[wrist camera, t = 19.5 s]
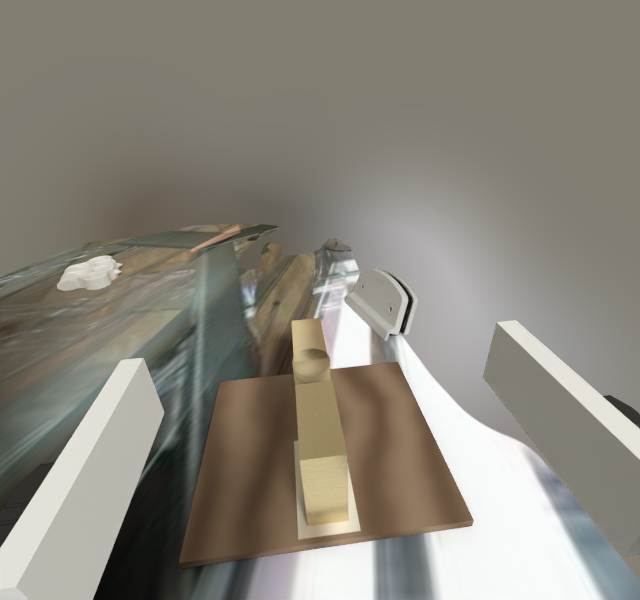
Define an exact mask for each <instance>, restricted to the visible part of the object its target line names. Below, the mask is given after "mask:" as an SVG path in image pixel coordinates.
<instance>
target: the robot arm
mask: <svg viewBox="0 0 640 600" xmlns="http://www.w3.org/2000/svg"><path fill="white" fill-rule="evenodd" d="M483 378H484V379H485V381H486V382H487V383H488V384H489V386H490V387H491V388H492V390H493V391H494V392H495V393H496V395H497V396H498V397H499V399H500V400H501V401H502V402H503V404H504V405H505V406H506V408H507V409H508V410H509V412H510V413H511V414H512V415H513V417H514V418H515V419H516V421H517V422H518V423H519V424H520V426H521V427H522V428H523V430H524V431H525V432H526V434H527V435H528V436H529V437H530V439H531V440H532V441H533V443H534V444H535V445H536V446H537V448H538V449H539V450H540V452H541V453H542V454H543V455H544V457H545V458H546V459H547V460H548V462H549V463H550V465H551V466H552V467H553V468H554V470H555V471H556V472H557V474H558V475H559V476H560V477H561V479H562V480H563V481H564V483H565V484H566V485H567V487H568V488H569V489H570V490H571V492H572V493H573V494H574V496H575V497H576V498H577V499H578V501H579V502H580V503H581V505H582V506H583V507H584V508H585V510H586V511H587V512H588V514H589V515H590V516H591V518H592V519H593V520H594V521H595V523H596V524H597V525H598V527H599V528H600V529H601V530H602V532H603V533H604V534H605V536H606V537H607V538H608V539H609V541H610V542H611V543H612V545H613V546H614V547H615V549H616V550H617V551H618V552H619V554H620V555H621V556H622V557H628V556H635V555H640V414H639V413H638V412H637V411H635V410H634V409H633V408H632V407H630V406H628V405H627V404H625V403H623V402H621V401H619V400H617V399H616V398H614V397H612V396H610V395H608V396H602V395H600V394H599V393H598V392H597V391H596V390H595V389H594V388H592V387H591V386H590V385H589V384H588V383H587V382H585V381H584V380H583V379H582V378H581V377H580V376H579V375H577V374H576V373H575V372H574V371H573V370H572V369H571V368H570V367H568V366H567V365H566V364H565V363H564V362H563V361H561V360H560V359H559V358H558V357H557V356H556V355H555V354H553V353H552V352H551V351H550V350H549V349H548V348H547V347H545V346H544V345H543V344H542V343H541V342H540V341H539V340H537V339H536V338H535V337H534V336H533V335H532V334H531V333H529V332H528V331H527V330H526V329H525V328H524V327H522V326H521V325H520V324H519V323H518V322H517V321H516V320H515V321H505V322H497V323H496V327H495V331H494V335H493V338H492V342H491V346H490V351H489V354H488V359H487V362H486V366H485V370H484V374H483ZM163 415H164V410H163V408H162V405H161V402H160V400H159V397H158V395H157V392H156V389H155V387H154V384H153V382H152V379H151V376H150V374H149V371H148V369H147V366H146V364H145V361H144V358H138V359H128V360H121V361H120V363H119V364H118V366H117V367H116V369H115V370H114V372H113V373H112V375H111V377H110V378H109V380H108V381H107V383H106V384H105V386H104V387H103V389H102V391H101V392H100V394H99V395H98V397H97V398H96V400H95V401H94V403H93V405H92V406H91V408H90V409H89V411H88V412H87V414H86V415H85V417H84V419H83V420H82V422H81V423H80V425H79V426H78V428H77V429H76V431H75V433H74V434H73V436H72V437H71V439H70V440H69V442H68V443H67V445H66V447H65V448H64V450H63V451H62V453H61V454H60V456H59V457H58V459H57V461H56V462H55V463H47V464H40V465H39V466H38V467H37V468H36V469H35V470H34V471H33V472H32V473H31V474H29V475H28V476H27V477H26V478H25V479H24V480H23V481H22V482H21V483H20V484H19V485H18V487H17V488H16V490H15V491H14V492H13V494H12V495H11V497H10V498H9V500H8V501H7V502H6V504H5V508H4V509H2V510H1V511H0V600H93V598H94V595H95V592H96V590H97V587H98V585H99V582H100V579H101V577H102V574H103V572H104V569H105V566H106V564H107V561H108V559H109V556H110V553H111V551H112V548H113V546H114V543H115V540H116V538H117V535H118V532H119V530H120V527H121V525H122V522H123V519H124V517H125V514H126V512H127V509H128V506H129V504H130V501H131V499H132V496H133V493H134V491H135V488H136V486H137V483H138V480H139V478H140V475H141V473H142V470H143V467H144V465H145V462H146V460H147V457H148V454H149V452H150V449H151V447H152V444H153V441H154V439H155V436H156V434H157V431H158V428H159V426H160V423H161V421H162V418H163Z"/></svg>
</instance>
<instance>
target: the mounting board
mask: <svg viewBox="0 0 640 600" xmlns="http://www.w3.org/2000/svg"><path fill="white" fill-rule="evenodd" d="M292 336H293V354H294V357H293V360H292V364H293V373H294V374H286V375H277V376H268V377H259V378H250V379H241V380H232V381H223V382H220V383H219V388H218V392H217V396H216V401H215V405H214V410H213V414H212V418H211V423H210V427H209V432H208V436H207V440H206V445H205V449H204V454H203V458H202V462H201V467H200V471H199V476H198V480H197V484H196V489H195V493H194V498H193V502H192V506H191V511H190V515H189V520H188V524H187V528H186V533H185V537H184V542H183V546H182V550H181V555H180V559H179V565H180V567H181V568H188V567H195V566H202V565H208V564H215V563H222V562H229V561H236V560H243V559H249V558H256V557H263V556H270V555H277V554H284V553H290V552H297V551H304V550H311V549H318V548H325V547H332V546H338V545H345V544H352V543H359V542H366V541H373V540H379V539H386V538H393V537H400V536H407V535H414V534H420V533H427V532H434V531H441V530H448V529H455V528H462V527H468V526H472V524H473V521H474V520H473V518H472V516H471V514H470V512H469V510H468V508H467V506H466V503H465V501H464V499H463V497H462V495H461V493H460V491H459V489H458V487H457V485H456V483H455V480H454V478H453V476H452V474H451V472H450V470H449V468H448V466H447V464H446V462H445V460H444V458H443V455H442V453H441V451H440V449H439V447H438V445H437V443H436V441H435V439H434V437H433V435H432V433H431V430H430V428H429V426H428V424H427V422H426V420H425V418H424V416H423V414H422V412H421V410H420V407H419V405H418V403H417V401H416V399H415V397H414V395H413V393H412V391H411V389H410V387H409V385H408V382H407V380H406V378H405V376H404V374H403V372H402V370H401V368H400V366H399V364H398V362H394V363H385V364H376V365H367V366H358V367H349V368H340V369H331V370H330V358H329V355H328V354H327V351H326V346H325V341H324V336H323V331H322V326H321V321H320V318H316V319H306V320H296V321H292ZM324 381H333V386H334V391H335V396H336V401H337V406H338V411H339V416H340V421H341V426H342V431H343V436H344V441H345V446H346V451H347V469H348V516H349V521H343V522H336V523H328V524H321V525H314V526H308V522H307V514H306V507H305V499H304V491H303V483H302V476H301V468H300V460H299V442H298V425H297V407H296V390H295V385H298V384H307V383H315V382H324Z"/></svg>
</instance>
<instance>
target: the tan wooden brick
mask: <svg viewBox="0 0 640 600" xmlns="http://www.w3.org/2000/svg"><path fill="white" fill-rule="evenodd" d="M295 390H296V407H297V425H298V442H299V460H300V468H301V476H302V483H303V491H304V499H305V507H306V514H307V522H308V526H314V525H321V524H328V523H336V522H343V521H349V516H348V469H347V451H346V446H345V441H344V436H343V431H342V426H341V421H340V416H339V411H338V406H337V401H336V396H335V391H334V386H333V381H324V382H315V383H307V384H298V385H295Z"/></svg>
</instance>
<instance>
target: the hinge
mask: <svg viewBox="0 0 640 600" xmlns="http://www.w3.org/2000/svg"><path fill="white" fill-rule="evenodd" d="M345 303H346V304H347V305H348V306H349V307H351V308H352V309H353V310H354V311H355V312H356V313H357V314H358V315H359V316H360V317H361V318H362V319H363V320H364V321H365V322H366V323H367V324H368V325H369V326H370V327H371V328H372V329H373V330H374V331H375V332H376V333H377V334H378V335H379V336H380V337H381V338H382V339H383V340H384V341H386V340H387V339H388V337H389V334H395V335H399V333H400V332H401V333H402V334H403V335H408V333H409V330H410V327H411V323H412V320H413V316H414V313H415V310H416V306H417V303H418V300H417V297H416V296H415V294H414V292H413V291H412V290H411V288H410V287H409V286H408V285H407V284H406V283H405V282H404V281H403V280H402V279H400V278H399V277H397V276H396V275H394V274H391V273H389V272H387V271H384V270H379V269H363V270H362V271H361V273H360V276H359V278H358V280H357V283H356V285H355V287H354V290H353V291H352V292H351V293H350V294H348V295H347V298H346V301H345Z"/></svg>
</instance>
